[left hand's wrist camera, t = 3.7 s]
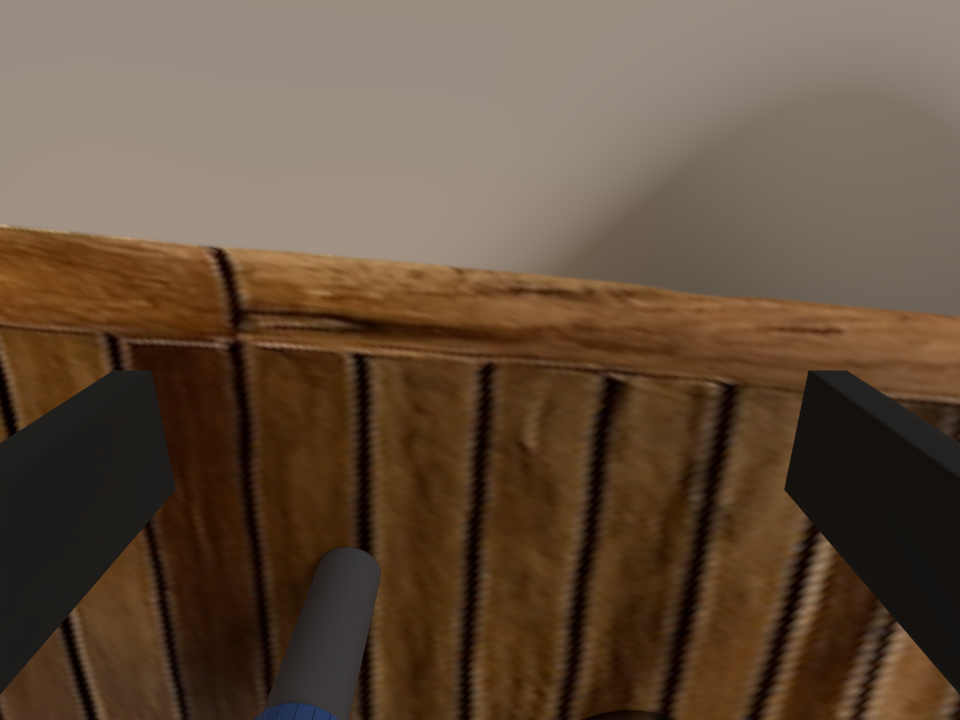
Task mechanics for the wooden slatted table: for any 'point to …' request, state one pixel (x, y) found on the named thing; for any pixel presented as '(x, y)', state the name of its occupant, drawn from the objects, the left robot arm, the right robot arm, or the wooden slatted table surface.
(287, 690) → the grey bottle
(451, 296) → the wooden slatted table surface
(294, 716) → the lid
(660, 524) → the wooden slatted table surface
